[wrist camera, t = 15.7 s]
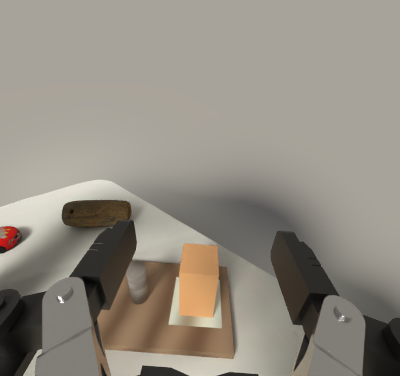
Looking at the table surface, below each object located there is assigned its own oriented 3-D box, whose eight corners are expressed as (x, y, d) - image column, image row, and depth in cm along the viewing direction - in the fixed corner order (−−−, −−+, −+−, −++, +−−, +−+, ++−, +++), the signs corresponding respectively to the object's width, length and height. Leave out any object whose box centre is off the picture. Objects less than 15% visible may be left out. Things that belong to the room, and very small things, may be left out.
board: (76, 347, 27) (58, 313, 23) (117, 264, 40) (110, 232, 36) (232, 358, 27) (242, 326, 23) (225, 272, 39) (230, 241, 35)
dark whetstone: (63, 236, 46) (55, 213, 43) (73, 218, 52) (66, 196, 49) (130, 229, 49) (127, 207, 46) (132, 212, 55) (129, 192, 52)
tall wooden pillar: (179, 315, 30) (179, 272, 25) (183, 284, 35) (183, 243, 30) (212, 317, 30) (218, 275, 25) (212, 286, 35) (217, 245, 30)
